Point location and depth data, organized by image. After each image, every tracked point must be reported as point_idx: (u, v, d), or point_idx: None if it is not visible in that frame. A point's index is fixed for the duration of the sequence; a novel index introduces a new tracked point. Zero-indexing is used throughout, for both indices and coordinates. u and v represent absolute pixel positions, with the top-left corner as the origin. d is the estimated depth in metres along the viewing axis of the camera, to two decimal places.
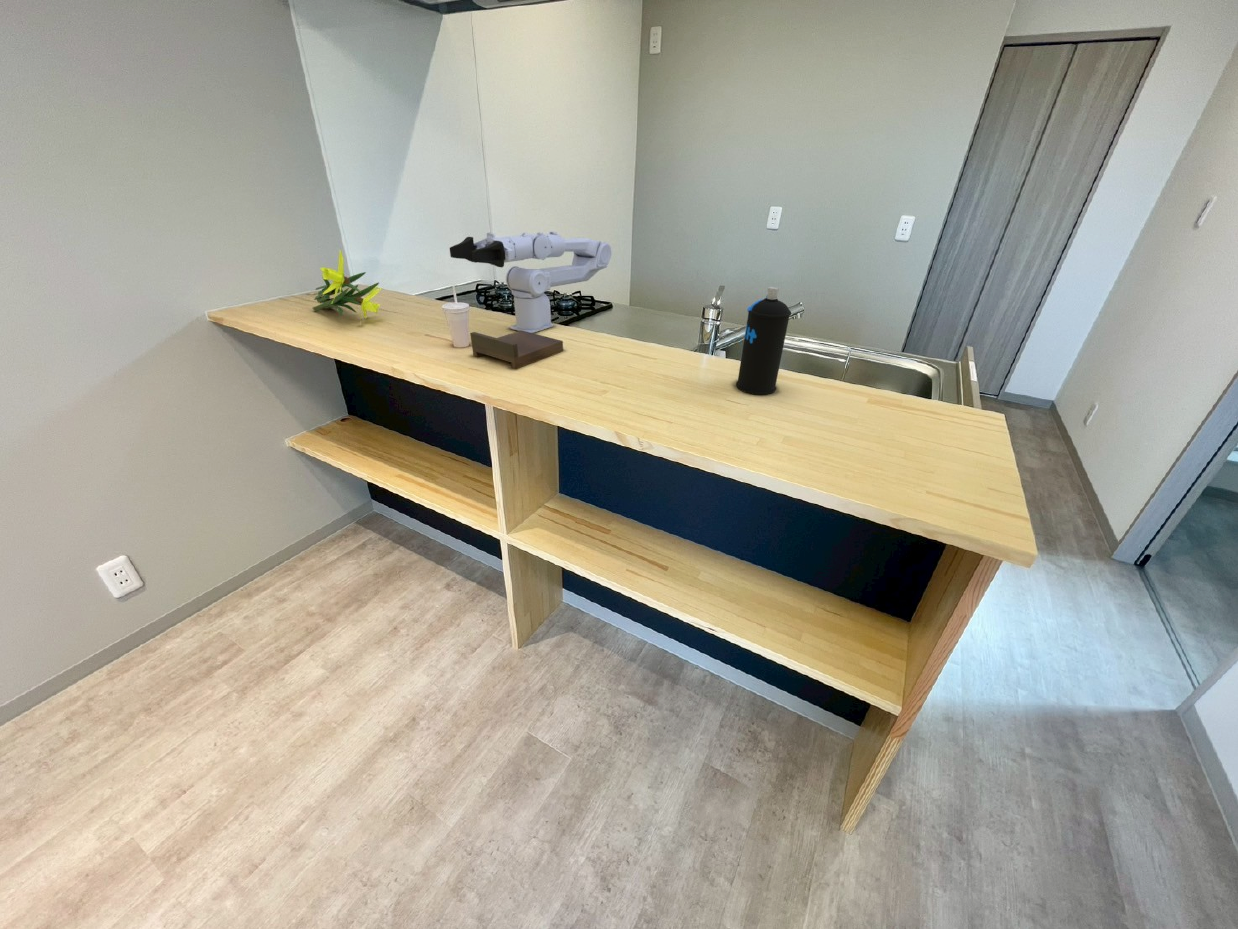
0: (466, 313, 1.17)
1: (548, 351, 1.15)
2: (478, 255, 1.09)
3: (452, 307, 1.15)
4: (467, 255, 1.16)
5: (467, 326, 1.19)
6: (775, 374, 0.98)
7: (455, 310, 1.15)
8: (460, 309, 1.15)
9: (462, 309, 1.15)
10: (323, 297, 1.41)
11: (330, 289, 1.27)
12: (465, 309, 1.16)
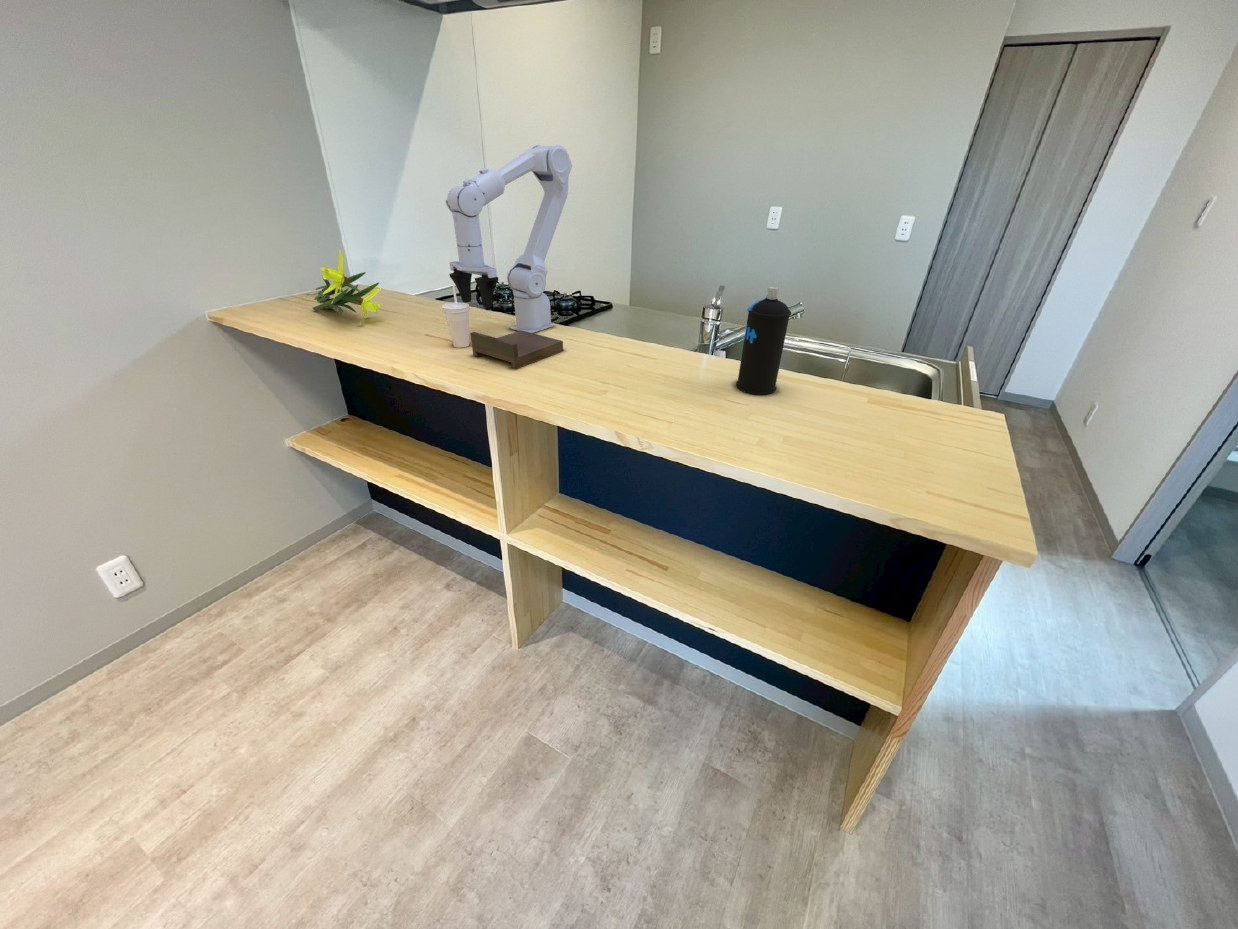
0: (466, 313, 1.17)
1: (548, 351, 1.15)
2: (488, 302, 1.19)
3: (452, 307, 1.15)
4: (468, 283, 1.22)
5: (467, 326, 1.19)
6: (775, 374, 0.98)
7: (455, 310, 1.15)
8: (460, 309, 1.15)
9: (462, 309, 1.15)
10: (323, 297, 1.41)
11: (330, 289, 1.27)
12: (465, 309, 1.16)
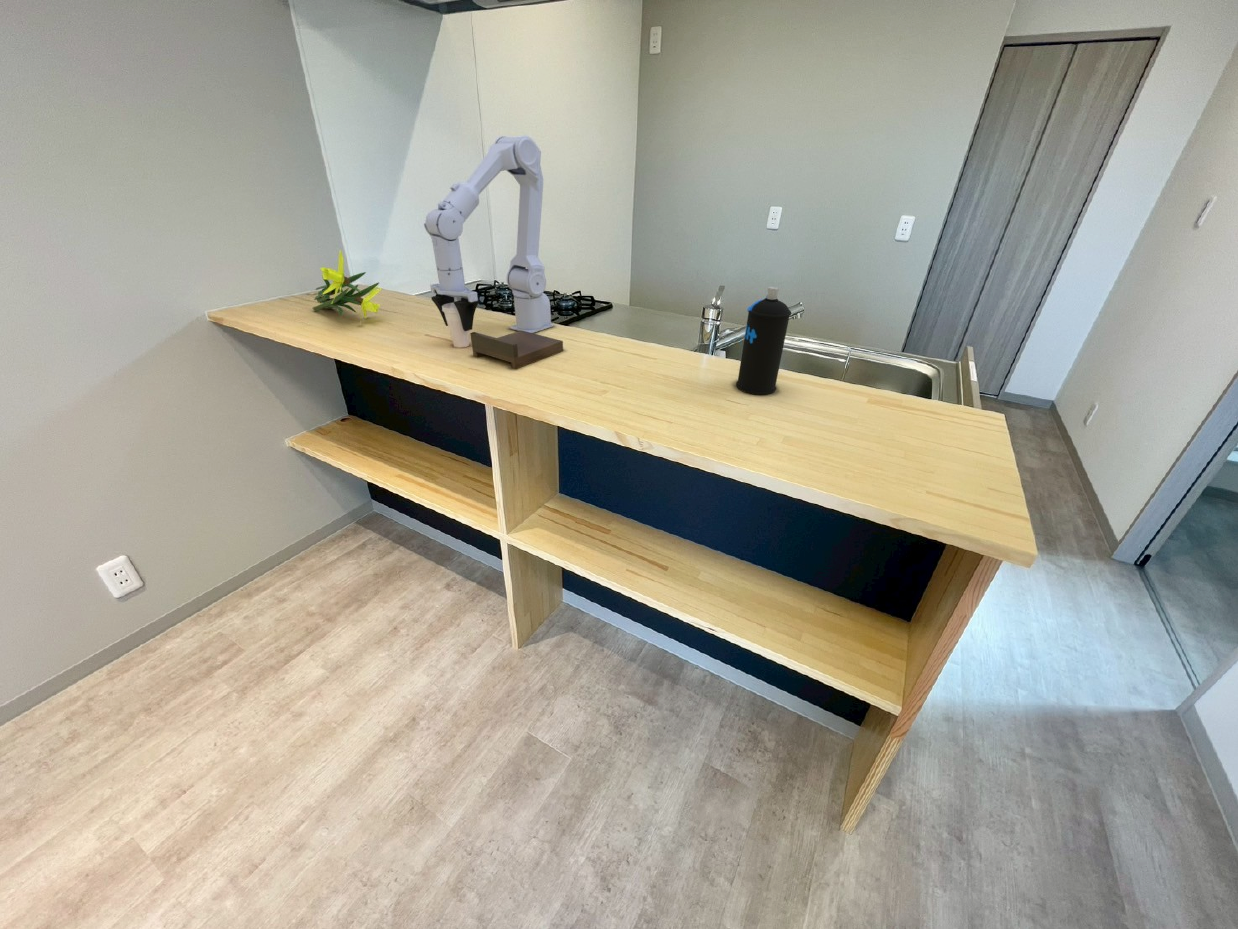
0: None
1: (548, 351, 1.15)
2: (468, 325, 1.17)
3: (452, 307, 1.15)
4: None
5: None
6: (775, 374, 0.98)
7: (455, 310, 1.14)
8: None
9: None
10: (323, 297, 1.41)
11: (330, 289, 1.27)
12: None
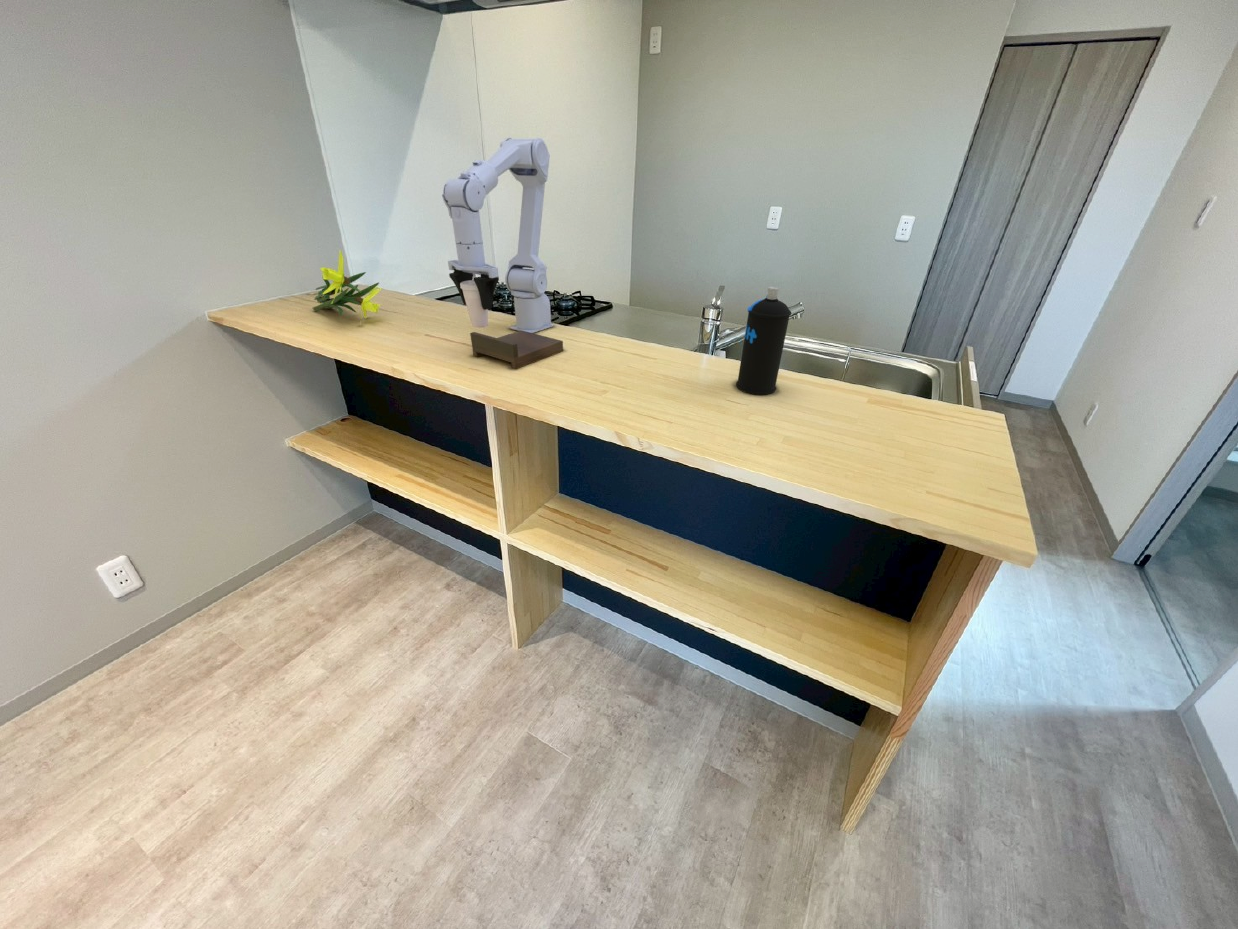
0: None
1: (548, 351, 1.15)
2: (487, 303, 1.11)
3: (471, 284, 1.09)
4: None
5: None
6: (775, 374, 0.98)
7: (474, 287, 1.09)
8: None
9: None
10: (323, 297, 1.41)
11: (330, 289, 1.27)
12: None
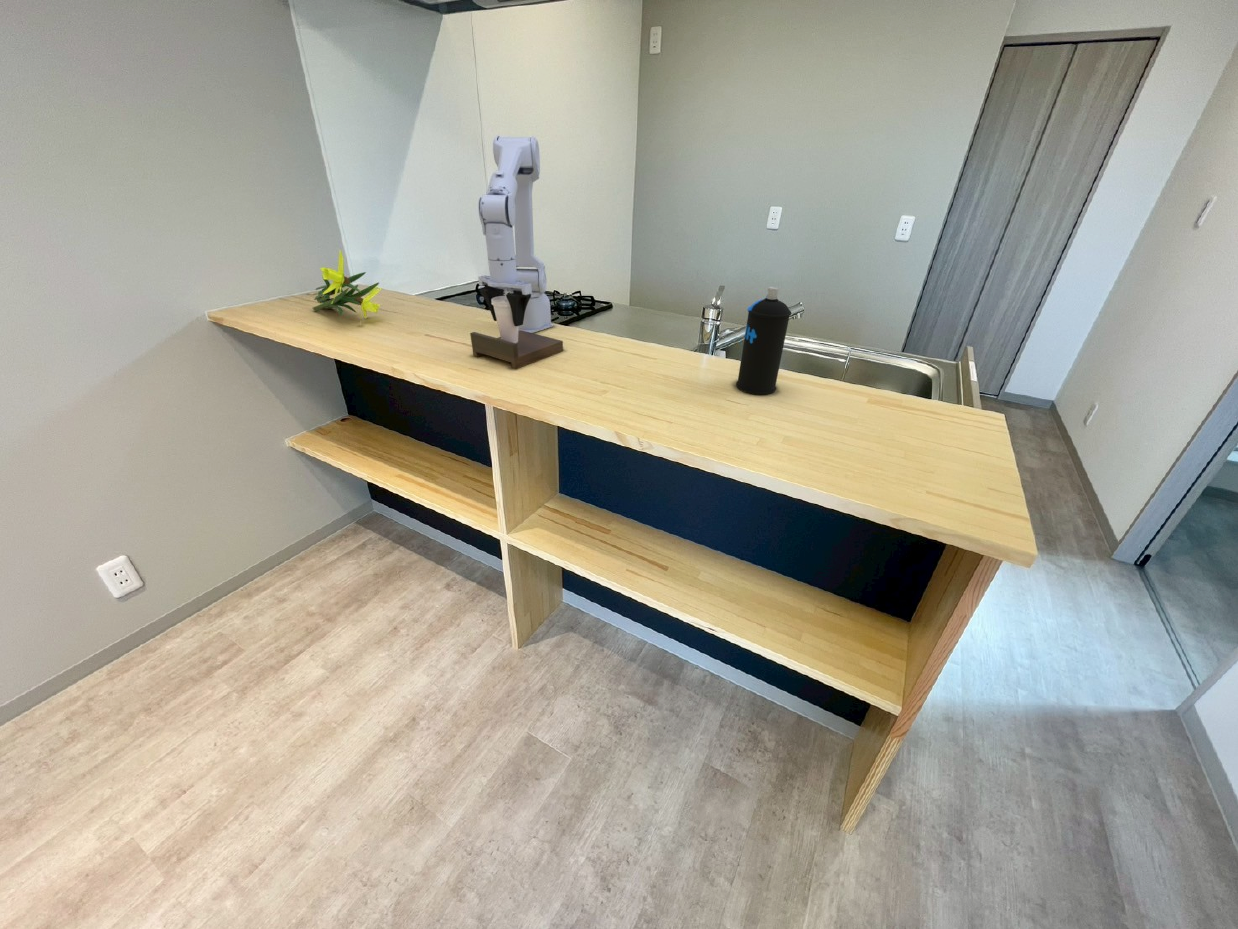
0: None
1: (548, 351, 1.15)
2: (519, 320, 1.09)
3: (503, 300, 1.07)
4: None
5: None
6: (775, 374, 0.98)
7: (506, 304, 1.06)
8: None
9: None
10: (323, 297, 1.41)
11: (330, 289, 1.27)
12: None
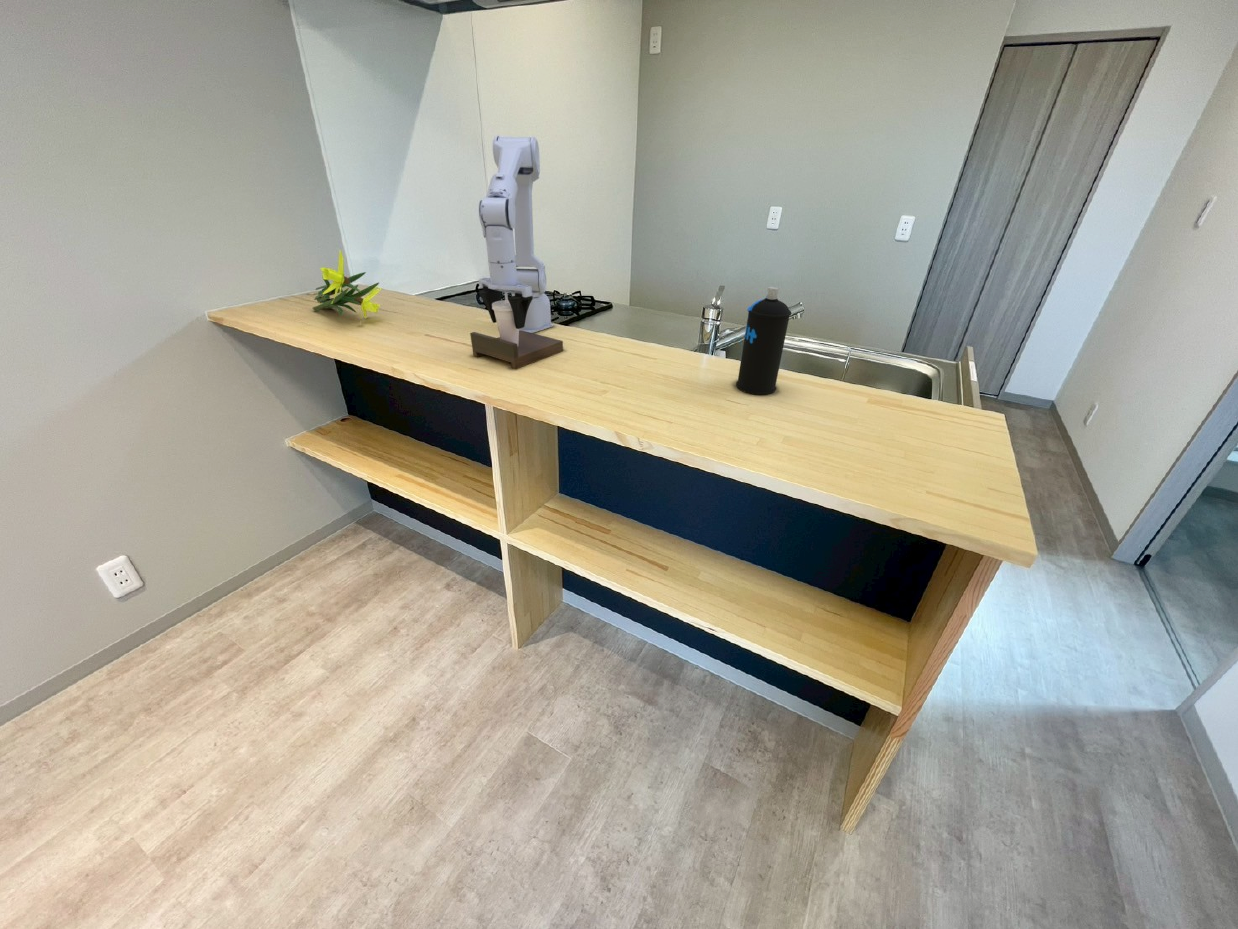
0: None
1: (548, 351, 1.15)
2: (521, 323, 1.09)
3: (503, 305, 1.08)
4: None
5: None
6: (775, 374, 0.98)
7: (507, 308, 1.07)
8: None
9: None
10: (323, 297, 1.41)
11: (330, 289, 1.27)
12: None
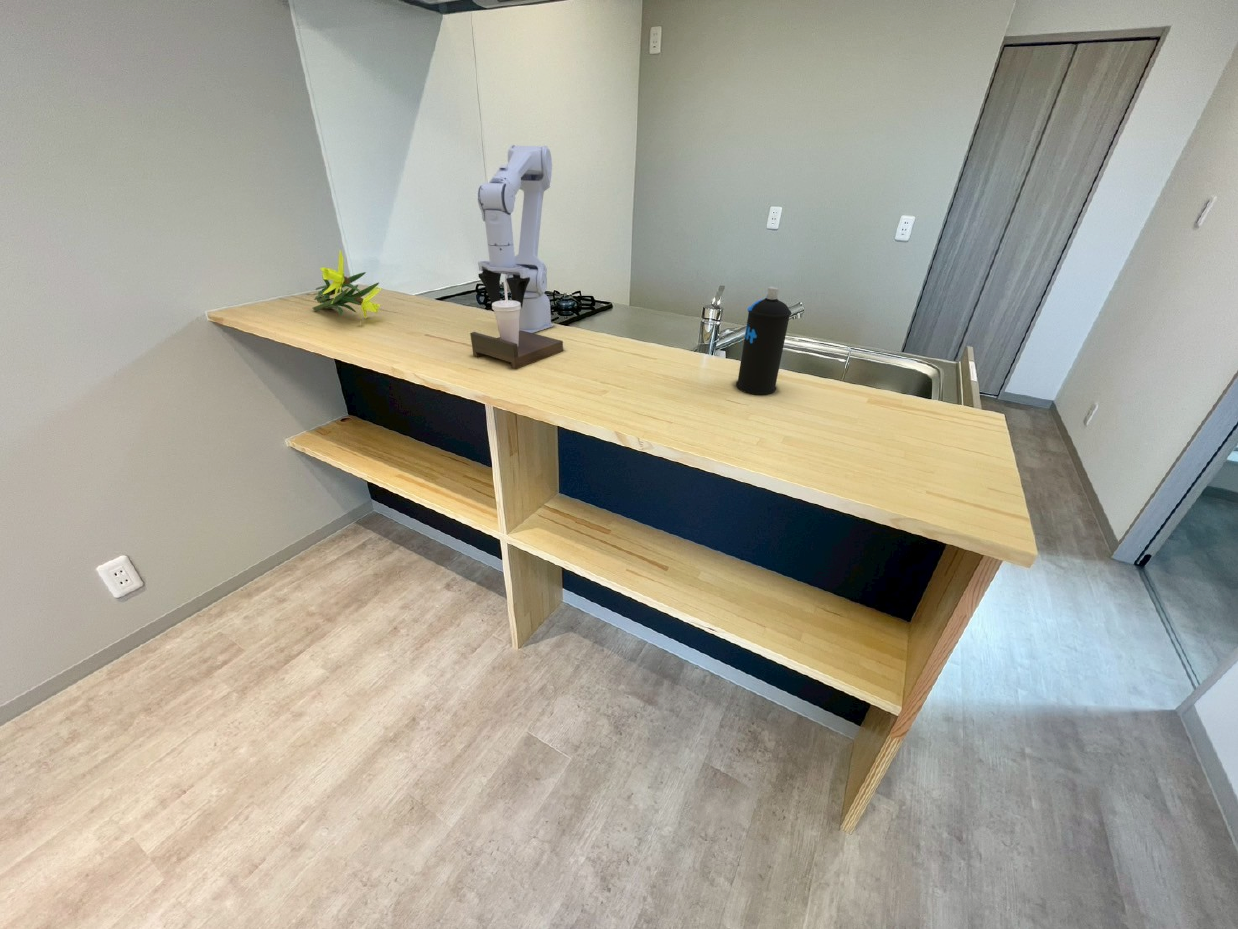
0: (517, 312, 1.09)
1: (548, 351, 1.15)
2: None
3: (503, 305, 1.08)
4: (497, 283, 1.18)
5: (518, 325, 1.11)
6: (775, 374, 0.98)
7: (507, 308, 1.07)
8: (512, 307, 1.07)
9: (514, 307, 1.08)
10: (323, 297, 1.41)
11: (330, 289, 1.27)
12: (517, 307, 1.08)
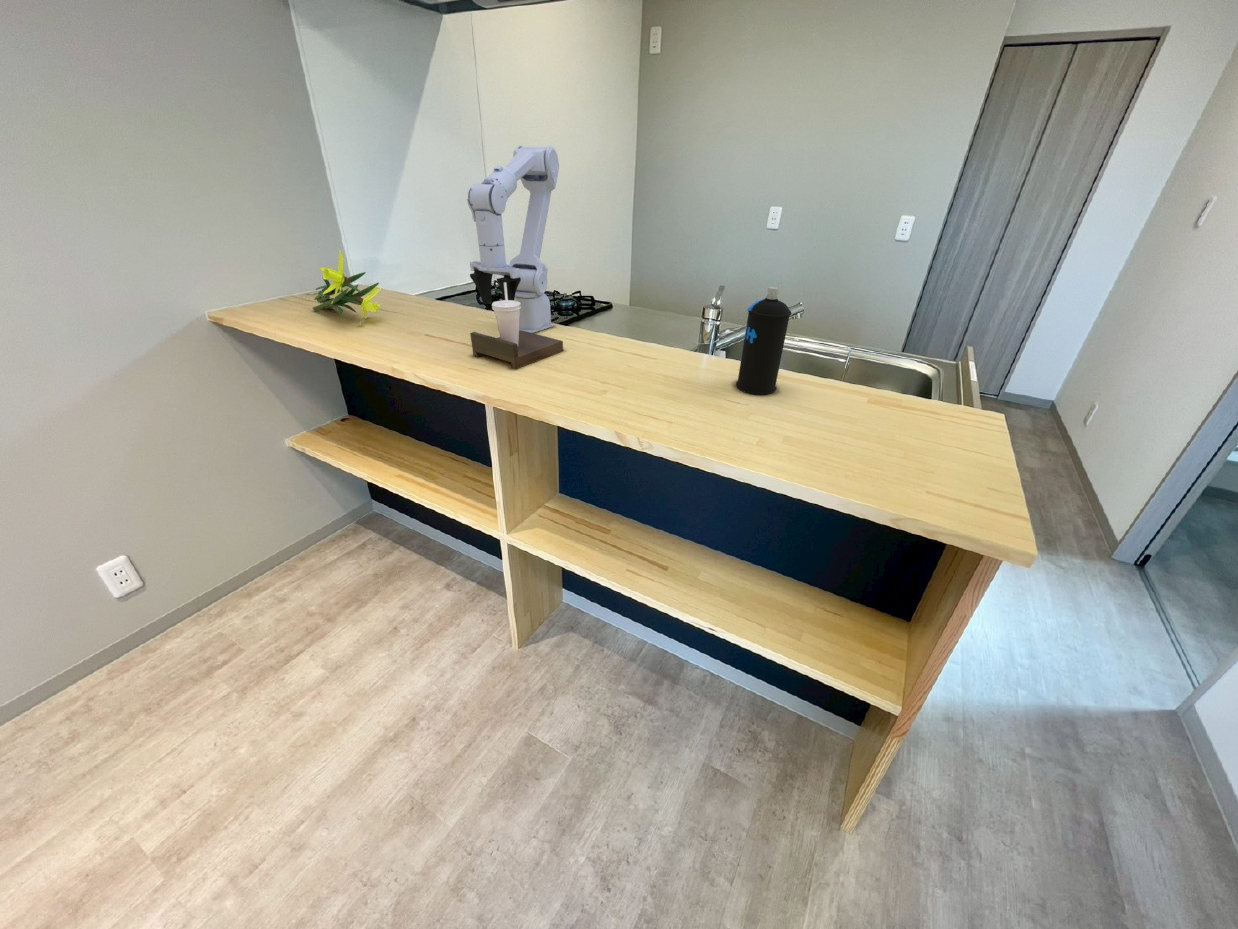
0: (517, 312, 1.09)
1: (548, 351, 1.15)
2: None
3: (503, 305, 1.08)
4: (488, 283, 1.19)
5: (518, 325, 1.11)
6: (775, 374, 0.98)
7: (507, 308, 1.07)
8: (512, 307, 1.07)
9: (514, 307, 1.08)
10: (323, 297, 1.41)
11: (330, 289, 1.27)
12: (517, 307, 1.08)
